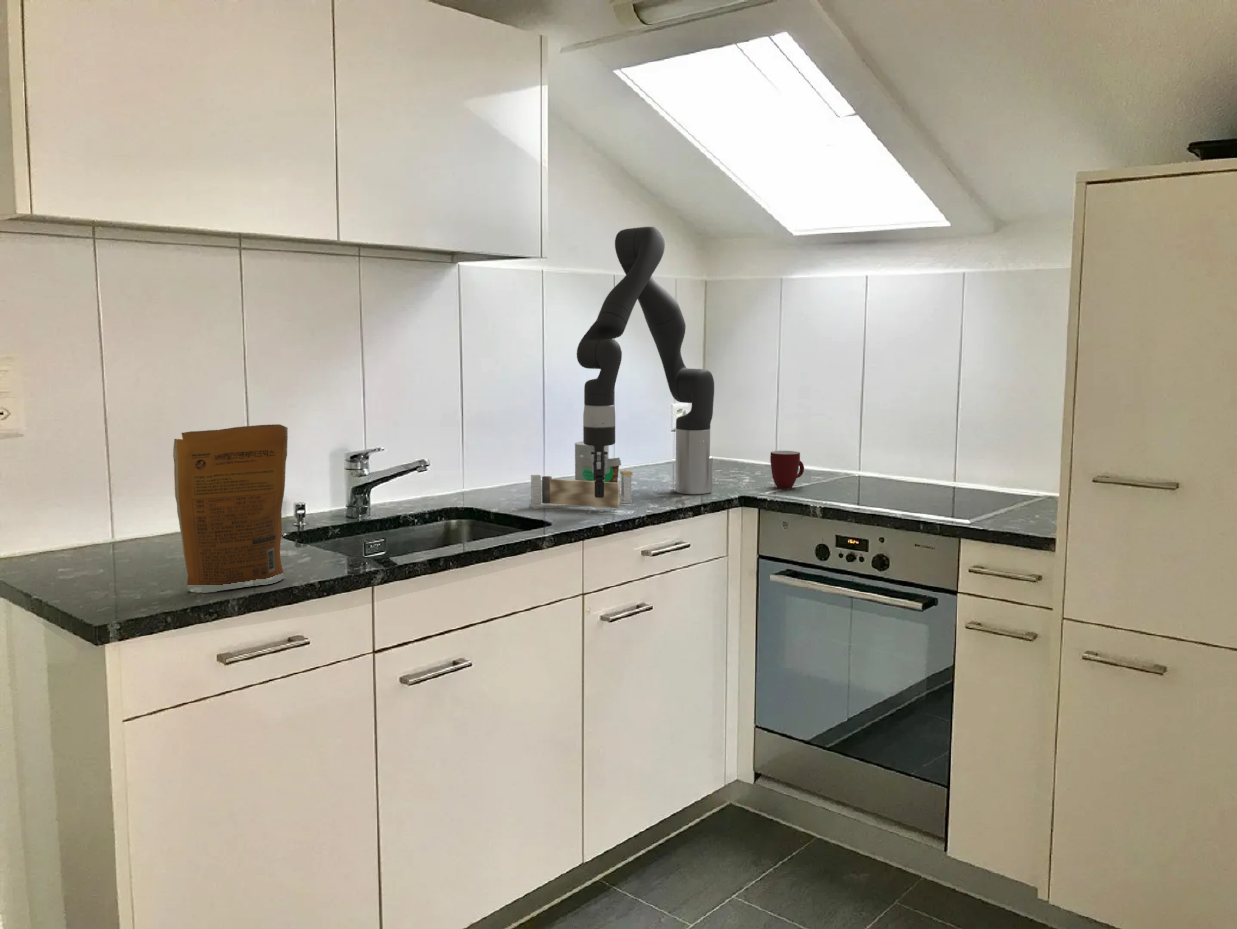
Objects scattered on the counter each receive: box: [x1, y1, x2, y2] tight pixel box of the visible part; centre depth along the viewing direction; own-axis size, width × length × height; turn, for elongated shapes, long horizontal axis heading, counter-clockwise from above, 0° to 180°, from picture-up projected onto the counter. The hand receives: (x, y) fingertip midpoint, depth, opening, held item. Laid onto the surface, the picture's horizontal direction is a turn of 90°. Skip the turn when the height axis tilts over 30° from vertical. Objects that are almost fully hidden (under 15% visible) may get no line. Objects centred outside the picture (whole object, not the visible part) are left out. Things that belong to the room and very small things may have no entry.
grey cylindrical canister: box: [574, 441, 610, 481], centre depth 278 cm, size 10×10×12 cm
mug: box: [769, 450, 805, 490], centre depth 277 cm, size 11×8×10 cm
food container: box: [578, 455, 622, 483], centre depth 266 cm, size 12×6×10 cm, turn 62°
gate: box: [541, 475, 621, 509], centre depth 245 cm, size 20×2×6 cm, turn 70°
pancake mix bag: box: [172, 423, 289, 586], centre depth 171 cm, size 7×19×28 cm, turn 123°
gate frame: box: [528, 470, 634, 510], centre depth 251 cm, size 26×4×8 cm, turn 110°
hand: (599, 497), depth 237 cm, fingers closed
